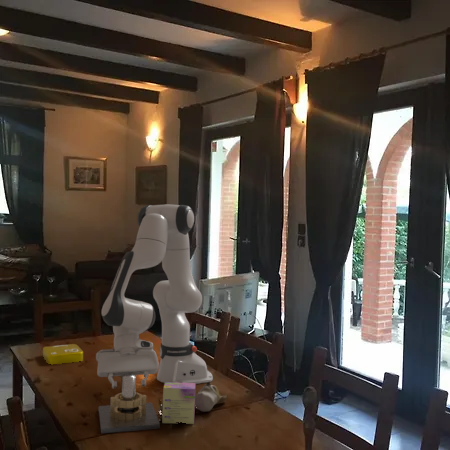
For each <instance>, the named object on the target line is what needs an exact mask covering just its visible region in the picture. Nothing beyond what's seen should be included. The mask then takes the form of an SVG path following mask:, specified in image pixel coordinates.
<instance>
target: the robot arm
mask: <svg viewBox="0 0 450 450" xmlns="http://www.w3.org/2000/svg"><path fill="white" fill-rule="evenodd" d="M137 225H138V227H139V228H138V231H137V235H136V239H135V242H134V243H135V244H134V246H133V248H132V249H131V250H130V251H127V252H126V253H125V254H124V255H123V257H122V259H121V261H120V263H119V266H118V267H117V268H118V269H117V271H116V273H115V277H114V278H113V281H112V284H111V287H110V290H109V292H108V294H107V296H106V298H105V300H104V302H103V305H102V307H101V309H100V310H101V312H100V314H101V315H100V316H101V317H102V319H103V321H104V323H105V324H106V325H107V326H111V327H112V331H113V334H114V337H113V348H110V349H108V348H107V349H100V350H99V351H97V352H96V354H95V361H96V362H97V369H96V370H97V371H96V374H97V376H98V377H99V378H107V380H108V381H109V383H110V384H111V389H117V388H118V383H117V380H115V379H114V378H113V377H122V375H124V374H129V373H130V374H135V375H136V376H139V375H140V376H141V375H143V377H144V378H143V379H141V380H140V386H141V387H147V379H148V378H149V375H154V374H157V376H156V380H157V381H159V382H161V383H163V384H165V382H170V383H195V385H197V384H205V383H211V382H212V381H213V380H214V379H213V374H212V373H211V371H209V370H208V367H207V363H206V361H205V360H204V359H203V358H202V357H200V356H199V355H197V353H196V352H198V350H197V349H198V348H197V346H195V345H194V344H192V343H191V342H190V331H191V329H190V328H191V326H190V322H189V321H188V319H187V317H186V316H187V315H186V313H187V314H188V313H195V312H197V311H198V310H199V309H200V307H202V306H201V305H202V303H203V295H202V292H201V291H200V290H199V288H198V287H197V284H196V282H195V280H194V276H193V273H192V268H191V255H190V254H191V251H190V238H189V237H190V235H189V232H191V230H192V229H193V227H194V225H195V213H194V211H193V209H192V208H191V207H190V206H189V205H185V204H180V205H179V204H168V203H167V204H155V205H151V204H149V205H145V206H142V208H141V209H140V210H139V211H138V214H137ZM160 264H161V267H162V270H163V271H164V273H165V275H166V277H167V279H168V280H160V281H159V282H157V283H156V284H155V286H154V287H153V290H152V296H153V299H154V300H155V303H156V304H157V307H158V309H159V315H160V320H161V321H160V322H161V343H160V347H159V348H160V349H159V357H160V363H159V358H158V355H157V353H156V351H155V350H154V343H153V342H151V341H147V340H145V339H141V338H140V334H143V333H146V331H148V330H149V329H151V328H152V327H153V325H155V321H156V312H155V308H154V306H153V304H151V303H150V302H149V303H148V302H145V301H141V300H135V299H131V298H128V297H125V293H126V289H127V287H128V284H129V281H130V280H131V279H130V278H131V277H132V274H133V273H134V272H135V271H137V270H142V269H149V268H153V267H156V266H157V265H160Z"/></svg>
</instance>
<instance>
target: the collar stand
mask: <svg viewBox="0 0 450 450" xmlns="http://www.w3.org/2000/svg"><path fill="white" fill-rule="evenodd" d="M135 407H136V408H135ZM121 408H135V412H133V413H121V411H122V410H121ZM98 417H99V426H100V434H113V433H120V432H121V433H125V432H137V431H147V430H148V431H149V430H159V429H160V428H161V427H160V425H161V424H160V421H159V418H158V416H157V413H156V410H155V407H154V405H153V402H151V401H150V402H147V395H146V394H142V393H140V392H137V391H136V396H135V400H133V401H123V400H122V392H119V393H117V394H115V395H114V396H111V397H110V404H109V405H99V406H98Z"/></svg>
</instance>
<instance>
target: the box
mask: <svg viewBox="0 0 450 450" xmlns="http://www.w3.org/2000/svg"><path fill="white" fill-rule="evenodd" d="M162 390H163V391H162V414H161V423H162V424H177V423H176V422H179V423H180V422H182V423H186V424H185V425H194V424H195V410H196V407H195V396H196V384H195V383H170V382H165V383H163V389H162Z"/></svg>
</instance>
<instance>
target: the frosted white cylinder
mask: <svg viewBox="0 0 450 450" xmlns="http://www.w3.org/2000/svg"><path fill="white" fill-rule="evenodd" d="M136 382H137V375H135V374H130V373H129V374H124V375H122V376H121V393H122V400H123V401H133V400H136V399H135V396H136V392H137V391H136V390H137V389H136V388H137V387H136V386H137V383H136ZM135 408H136V407H135ZM135 408H121V410H122V411H121V413H133V412H135Z"/></svg>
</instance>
